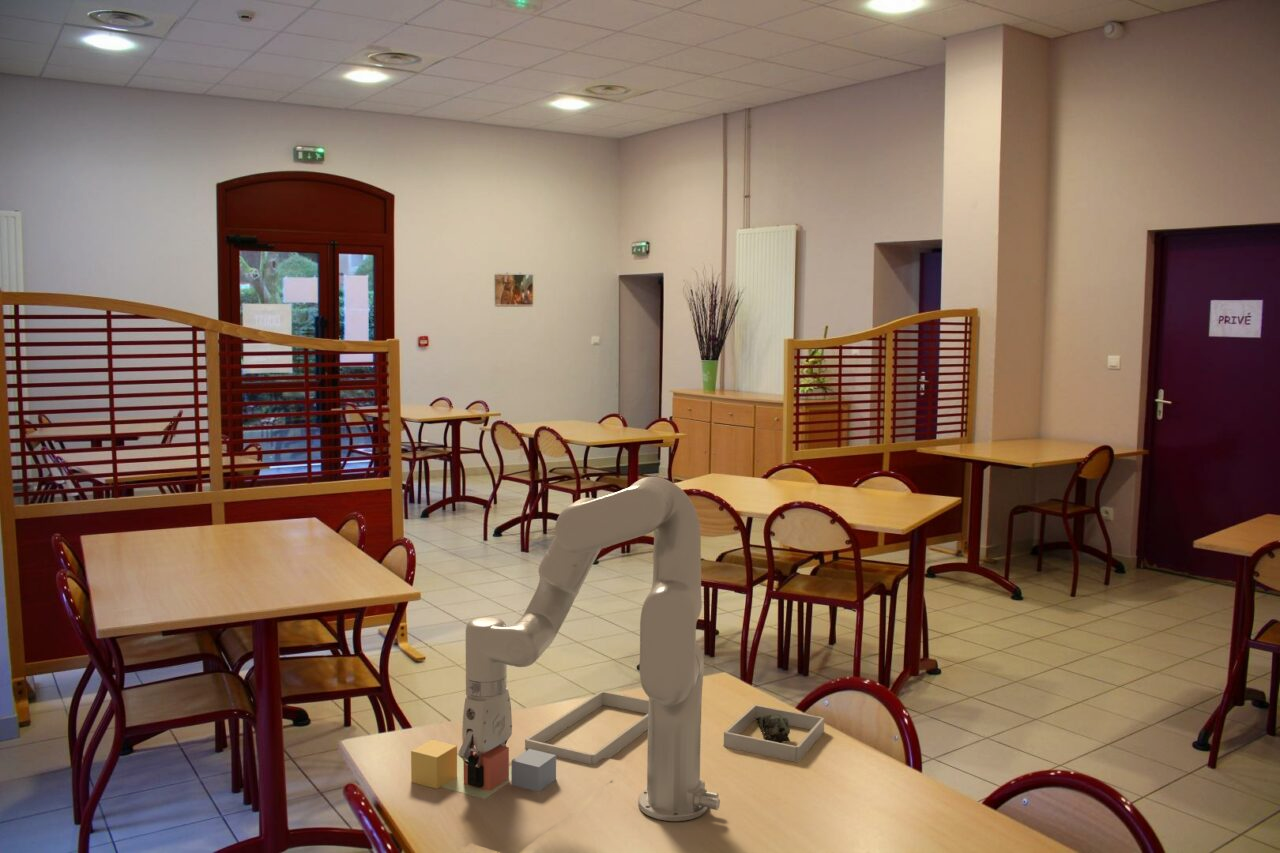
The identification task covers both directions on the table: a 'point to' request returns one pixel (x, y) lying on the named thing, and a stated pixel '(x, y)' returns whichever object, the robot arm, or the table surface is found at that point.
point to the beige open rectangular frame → (581, 711)
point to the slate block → (533, 770)
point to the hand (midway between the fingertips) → (486, 777)
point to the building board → (459, 786)
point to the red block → (492, 767)
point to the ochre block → (434, 764)
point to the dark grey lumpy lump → (774, 727)
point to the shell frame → (770, 747)
